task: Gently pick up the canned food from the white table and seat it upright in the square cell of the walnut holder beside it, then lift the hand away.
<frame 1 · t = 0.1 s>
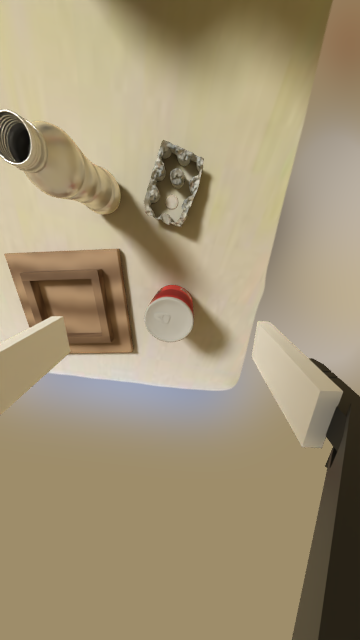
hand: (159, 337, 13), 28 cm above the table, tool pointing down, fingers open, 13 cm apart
canned food: (173, 301, 42), on the table
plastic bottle: (106, 195, 35), on the table
walnut holder: (77, 304, 43), on the table
egg carton: (173, 191, 35), on the table
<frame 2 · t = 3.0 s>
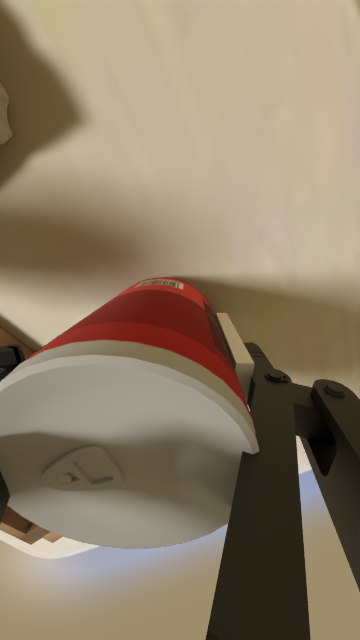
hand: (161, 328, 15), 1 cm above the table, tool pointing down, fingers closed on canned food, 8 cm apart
canned food: (163, 323, 16), on the table, touching gripper
walnut holder: (29, 447, 21), on the table
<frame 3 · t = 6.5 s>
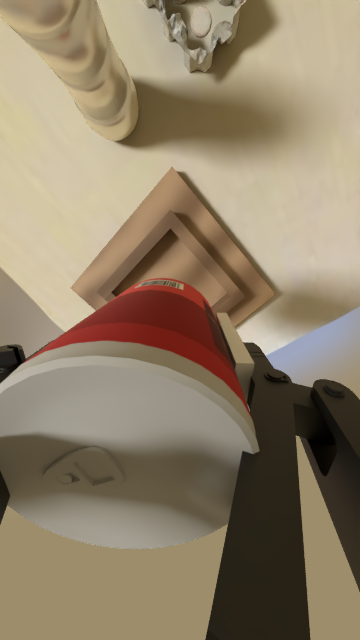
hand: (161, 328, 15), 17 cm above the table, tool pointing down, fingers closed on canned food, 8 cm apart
canned food: (163, 323, 16), point 16 cm above the table, touching gripper
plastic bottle: (115, 115, 24), on the table
walnut holder: (172, 289, 31), on the table
egg carton: (188, 11, 21), on the table
when the fingers open (4 cm above the table, at t = 10.0 s): canned food drops 1 cm, resting on walnut holder.
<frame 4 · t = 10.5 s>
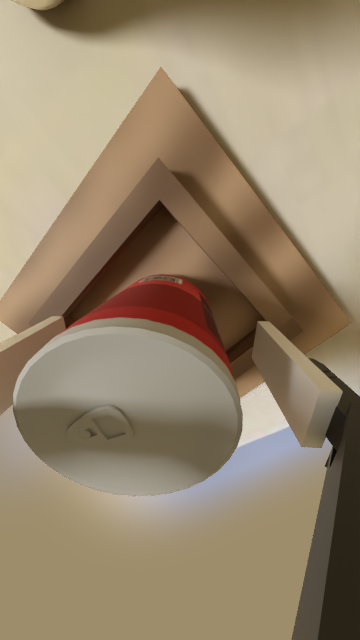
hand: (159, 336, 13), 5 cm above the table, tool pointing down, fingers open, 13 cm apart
canned food: (164, 317, 17), point 1 cm above the table, touching walnut holder
walnut holder: (167, 312, 18), on the table
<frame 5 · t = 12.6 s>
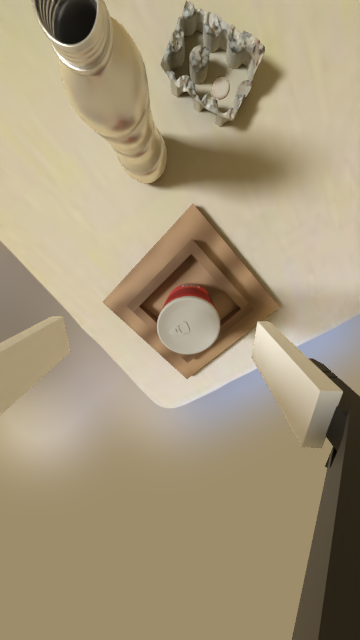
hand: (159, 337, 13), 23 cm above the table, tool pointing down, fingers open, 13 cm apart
canned food: (188, 304, 35), point 1 cm above the table, touching walnut holder
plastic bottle: (146, 162, 29), on the table
walnut holder: (189, 302, 36), on the table
egg carton: (208, 84, 26), on the table
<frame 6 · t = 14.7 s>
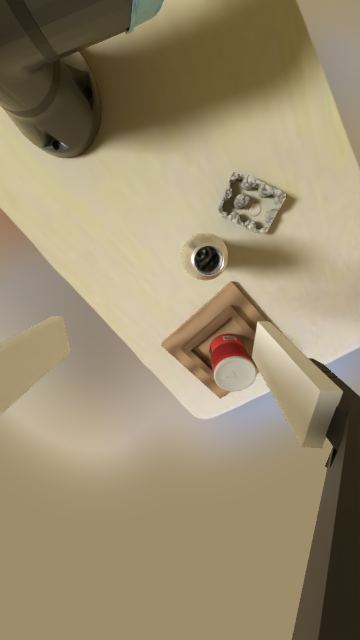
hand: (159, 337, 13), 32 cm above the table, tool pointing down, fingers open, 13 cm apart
canned food: (225, 346, 47), point 1 cm above the table, touching walnut holder
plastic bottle: (199, 253, 42), on the table
walnut holder: (224, 344, 49), on the table
egg carton: (246, 207, 38), on the table
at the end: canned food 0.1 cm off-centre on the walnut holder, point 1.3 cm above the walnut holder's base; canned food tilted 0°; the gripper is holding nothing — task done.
